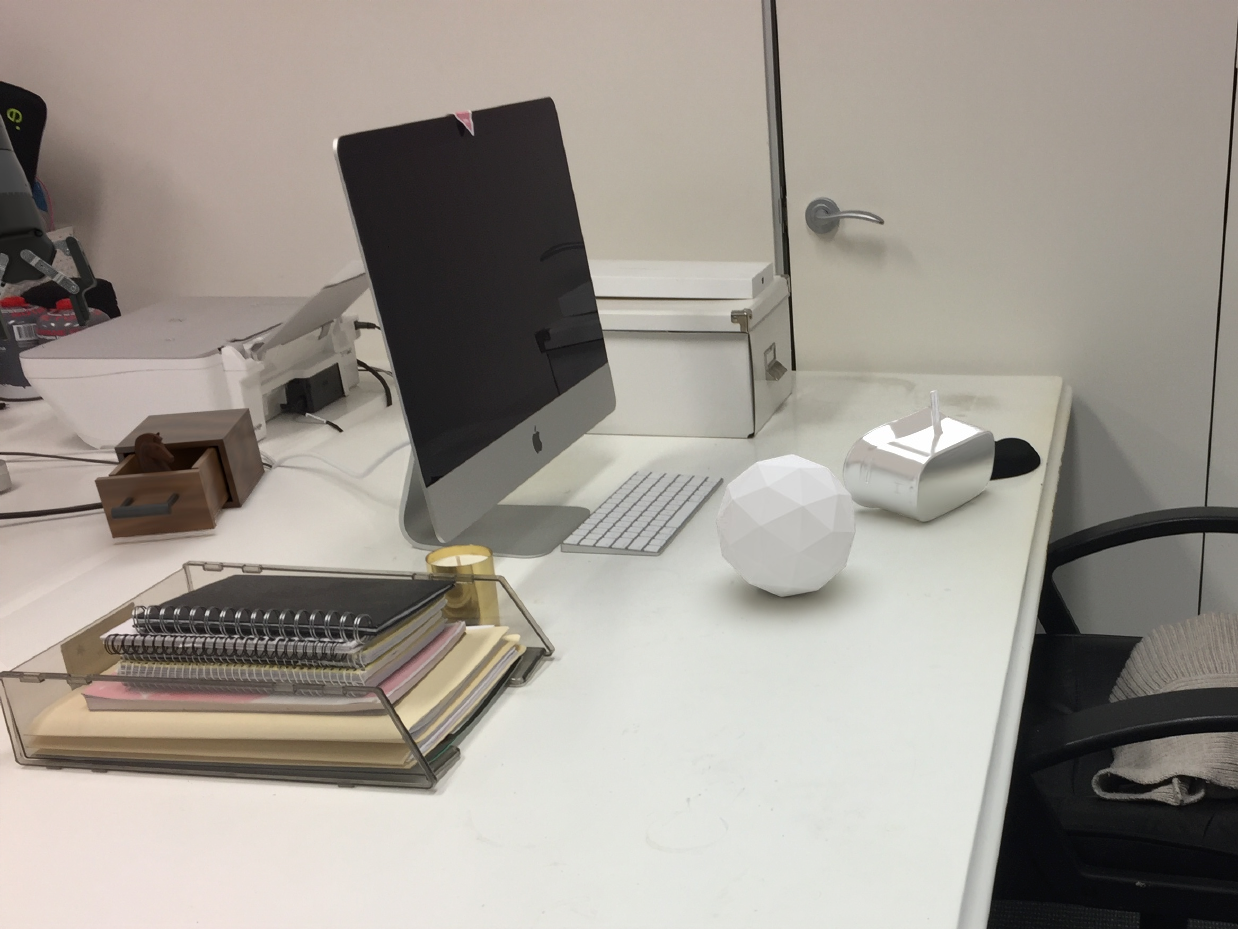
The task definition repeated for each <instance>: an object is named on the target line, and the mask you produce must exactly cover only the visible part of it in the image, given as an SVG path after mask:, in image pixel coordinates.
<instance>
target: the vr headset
mask: <svg viewBox="0 0 1238 929" xmlns="http://www.w3.org/2000/svg"><path fill="white" fill-rule="evenodd" d="M929 393H930V405H928V406H926V407H924V408H921V409H919V410H918V411H915V412H913V413H911V414H909V415H906V416H903V417H901V418H898V419H895V420H892V421H890V422H889V421H888V422H886V423H884V424H882V425H880V426H877V427H875V428H873V429H871V430H869V431H868V432H866V433H865V434H863V435H862V436H861V437H859V438H858V439H857V440H856V441H855V442H854V443H853V444H852V446H851V447H850V448H849V450H848V452H847V455H846V456H845V459H844V463H843V467H842V480H843V484H844V485H843V486H844V487H845V488H846V490H847V491H848V492H849V493H850V494H851V495H852V502H854V503H855V504H856V505H859V506H861V507H864V508H868V509H880V510H883V511H886V512H890V513H893V514H897V515H900V516H902V517H906V518H909V519H913V520H916V521H919V522H923V523H924V522H930V521H932V520H934V519H937V518H939V517H941V516H943V515H946V514H947V513H949V512H951V511H953V510H955V509H957V508H958V507H960V506H963V505H964V504H966V503H968V502H970V501H971V500H973V499H974V498H976V497H978V496H979V495H980V494H981V493H982V492H984V490H985V489H986V488H987V487H988V485H989V483H990V480H991V478H992V474H993V470H994V469H993V468H994V462H995V453H996V452H995V451H996V450H995V448H996V444H995V442H996V441H995V436H994V433H993V432H992V431H991V430H990V429H987V428H983V427H981V426H978V425H975V424H972V423H969V422H966V421H963V420H959V419H957V418H954V417H952V416H949V415H948V416H947V415H946V414H944V413H943V412H941V409H940V398H939V391H938V390H932V391H930V392H929Z"/></svg>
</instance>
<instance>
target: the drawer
mask: <svg viewBox="0 0 1238 929" xmlns="http://www.w3.org/2000/svg"><path fill="white" fill-rule="evenodd" d="M168 451H169V452H170V453H171V454H172V455H173V456H174V461H173V462H172V463H171V464H169V465H168V464H167V463H165V462H164V461H163V462H164V463H165V464H166V465H167V466H168V467H169V468H170V469H171V470H172V471H168V472H156V473H144V474H143V473H142V469H141V467H140V464H139V462H138V460H137V457H136V453H135V452H131V453H130V454H129V455H128V456H127V457H126V458H125V459H124V460H123V461H122V462H121V463H120V464H119V463H118V465H117V466H115V467H114V468H113V469H112V471H111V472H109V474H108V475H107V476H98V477H96V479H95V480H94V484H95V487H96V490H97V493H98V497H99V499H100V503H101V505H102V508H103V513H104V516H105V518H106V522H107V524H108V528H109V531H110V533H111V538H112V539H119V538H121V539H122V538H128V537H129V538H131V537H132V538H133V537H141V536H152V535H162V534H164V535H165V534H173V533H174V534H175V533H185V532H195V531H205V530H206V531H207V530H215V529H216V527H217V521H216V516H217V515H218V513H219V512H220V511H221V510H222V509H221V508H222V506H223V505H224V504H225V502H226V501H227V499H228V498H229V497H230V495H231V493H230V489H229V485H228V481H227V478H226V474H225V470H224V467H223V463H222V459H221V455H220V452H219V448H218V445H217V446H205V447H193V448H180V449H168Z"/></svg>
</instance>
